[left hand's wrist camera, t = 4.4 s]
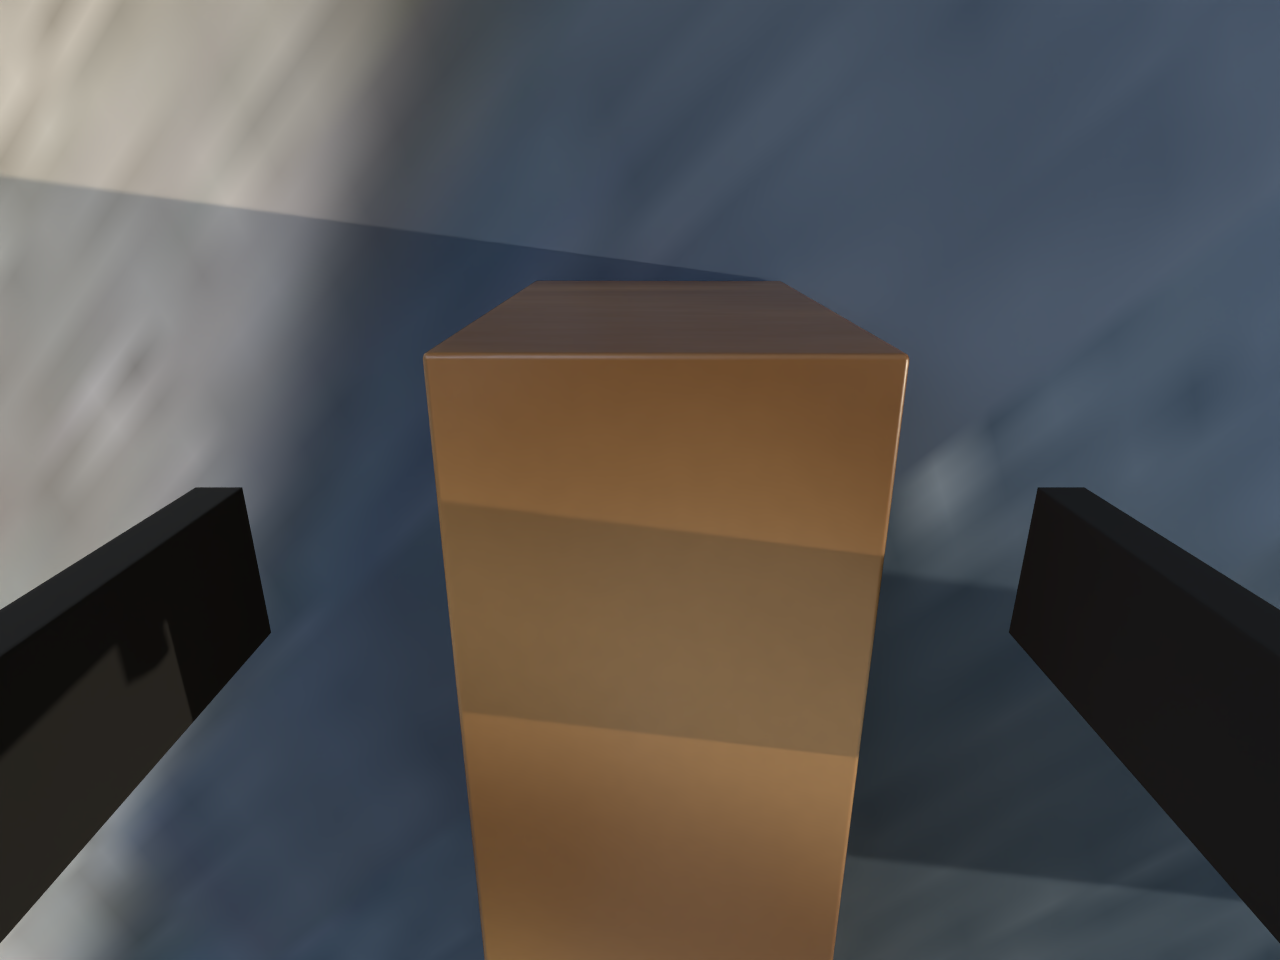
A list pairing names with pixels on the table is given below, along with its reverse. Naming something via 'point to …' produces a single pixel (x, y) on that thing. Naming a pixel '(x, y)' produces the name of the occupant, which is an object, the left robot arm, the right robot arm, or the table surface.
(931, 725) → the table surface
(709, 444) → the bar
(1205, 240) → the table surface
